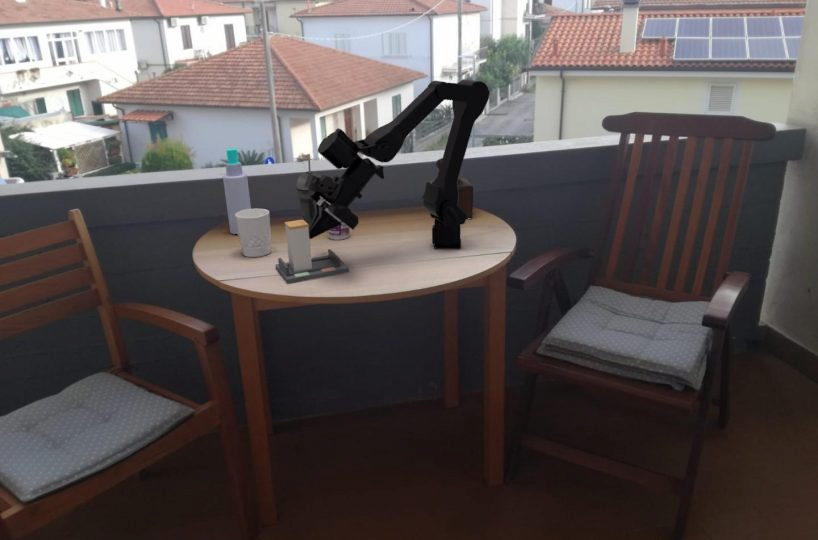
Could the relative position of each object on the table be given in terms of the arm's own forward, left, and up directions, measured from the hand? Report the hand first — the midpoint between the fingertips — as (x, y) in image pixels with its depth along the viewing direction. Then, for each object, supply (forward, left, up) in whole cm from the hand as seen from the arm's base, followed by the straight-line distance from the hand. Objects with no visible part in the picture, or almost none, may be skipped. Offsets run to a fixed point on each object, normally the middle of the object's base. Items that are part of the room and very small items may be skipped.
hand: (308, 237), depth 138 cm
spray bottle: (+25, -27, -8) cm, 38 cm away
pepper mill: (-31, -40, -8) cm, 51 cm away
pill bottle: (-2, -23, -8) cm, 25 cm away
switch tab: (+2, +1, -7) cm, 7 cm away
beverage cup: (+6, -29, -8) cm, 31 cm away
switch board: (0, 0, -8) cm, 8 cm away
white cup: (+16, -11, -8) cm, 21 cm away
